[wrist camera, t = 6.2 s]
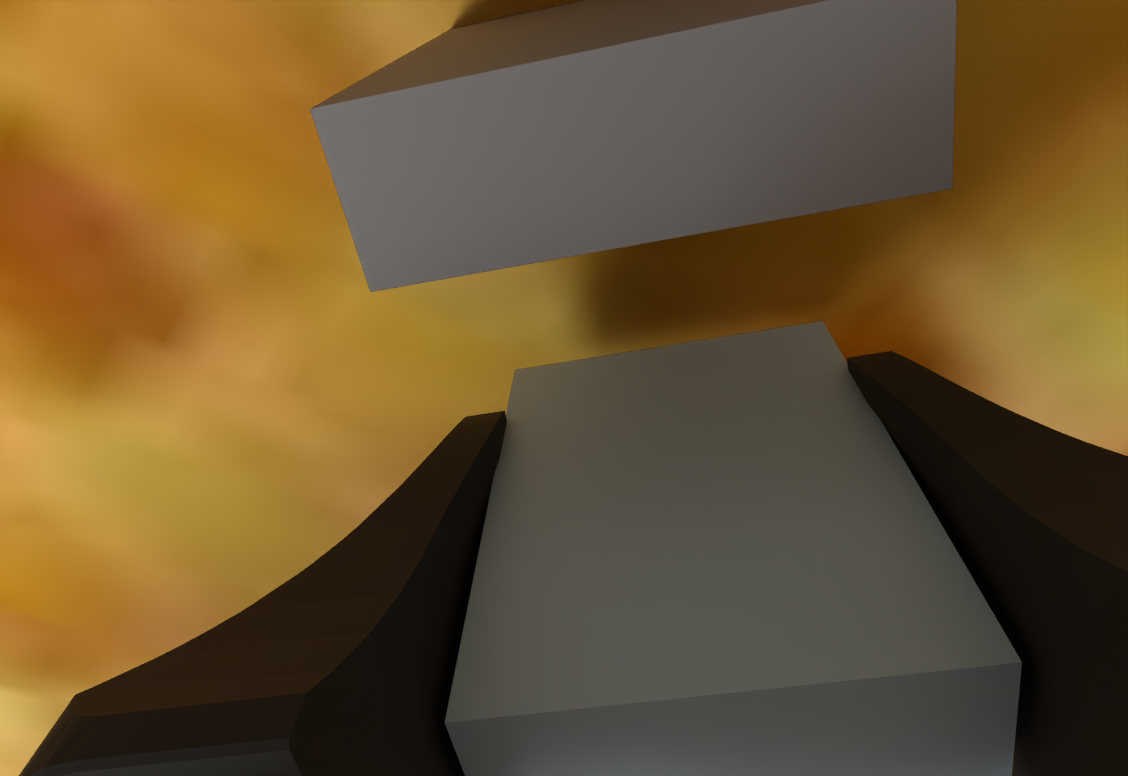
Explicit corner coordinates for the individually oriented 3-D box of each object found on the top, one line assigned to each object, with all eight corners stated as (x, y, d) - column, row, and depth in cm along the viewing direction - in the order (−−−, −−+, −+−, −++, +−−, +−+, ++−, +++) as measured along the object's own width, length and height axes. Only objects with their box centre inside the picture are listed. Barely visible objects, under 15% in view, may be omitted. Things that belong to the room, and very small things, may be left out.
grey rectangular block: (784, 71, 13) (951, 189, 7) (475, 132, 13) (370, 291, 7) (776, -43, 12) (956, -29, 6) (450, 29, 13) (310, 109, 7)
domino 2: (827, 407, 14) (1011, 785, 8) (535, 449, 14) (486, 832, 8) (822, 320, 13) (1022, 661, 7) (515, 369, 14) (444, 723, 7)
